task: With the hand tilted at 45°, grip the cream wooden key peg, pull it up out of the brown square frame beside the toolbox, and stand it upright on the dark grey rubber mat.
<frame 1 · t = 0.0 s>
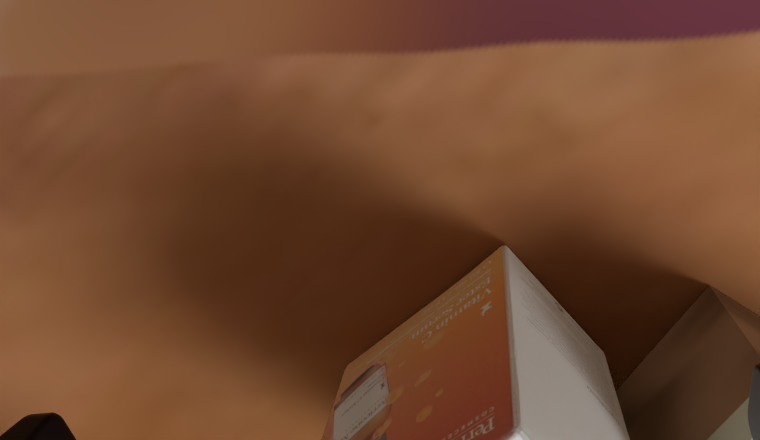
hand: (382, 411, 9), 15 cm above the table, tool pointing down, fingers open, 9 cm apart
small box: (469, 356, 27), on the table
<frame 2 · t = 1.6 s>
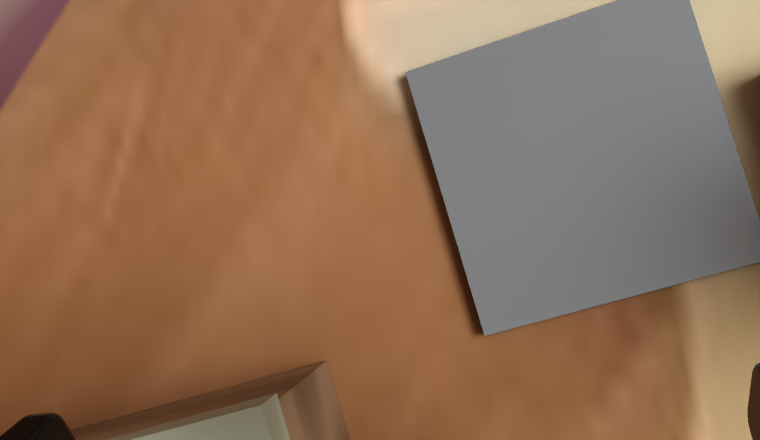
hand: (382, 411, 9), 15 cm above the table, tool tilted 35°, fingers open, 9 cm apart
mat: (579, 162, 23), on the table
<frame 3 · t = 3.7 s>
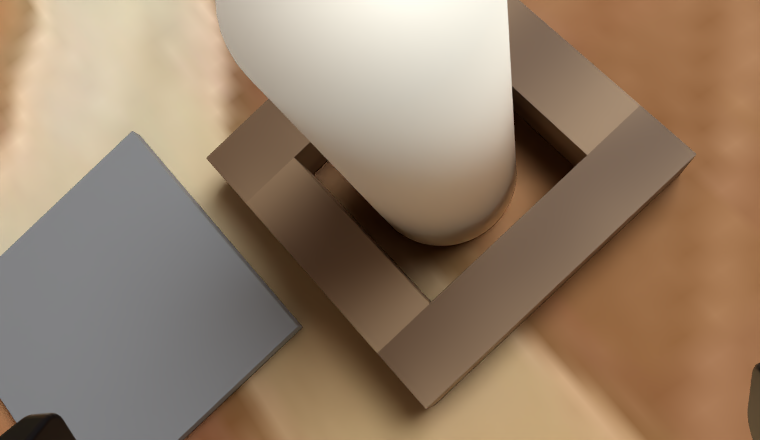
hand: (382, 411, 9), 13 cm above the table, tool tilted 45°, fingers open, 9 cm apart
key peg: (413, 107, 17), in the brown square frame
brown square frame: (442, 173, 23), on the table
mat: (118, 319, 24), on the table
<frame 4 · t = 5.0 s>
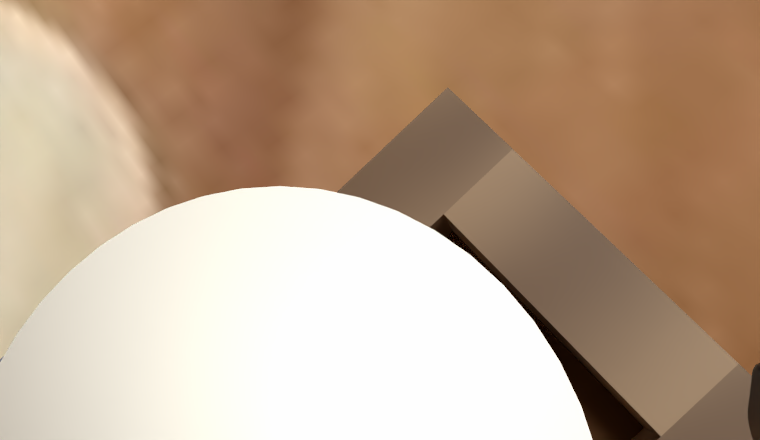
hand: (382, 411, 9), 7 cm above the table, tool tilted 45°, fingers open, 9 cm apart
key peg: (402, 438, 11), in the brown square frame
brown square frame: (447, 414, 16), on the table
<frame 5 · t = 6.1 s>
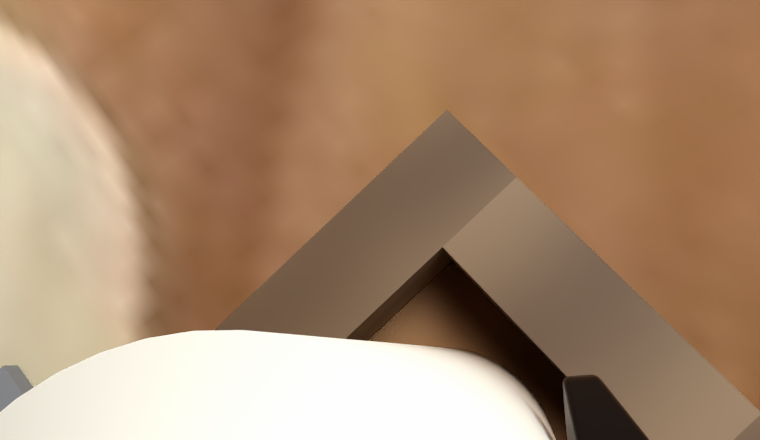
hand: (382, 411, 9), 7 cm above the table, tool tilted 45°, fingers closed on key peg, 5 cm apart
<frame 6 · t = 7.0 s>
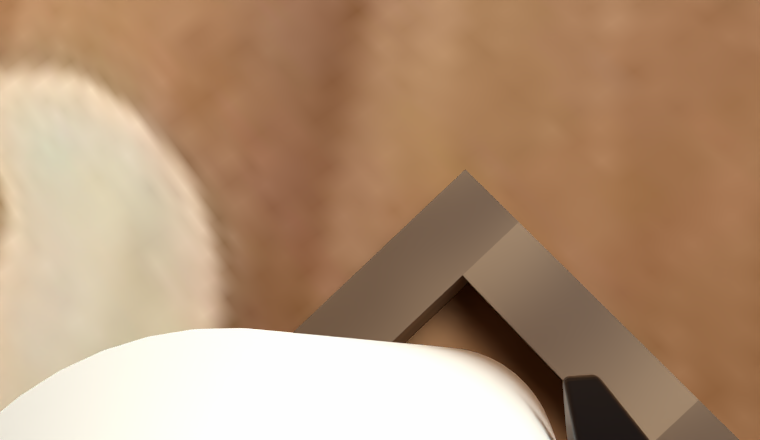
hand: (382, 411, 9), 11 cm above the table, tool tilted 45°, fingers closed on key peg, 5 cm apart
brown square frame: (464, 436, 20), on the table
when the fingers open (8 cm above the table, at t = 10.1 s): key peg stays where it is, resting on mat.
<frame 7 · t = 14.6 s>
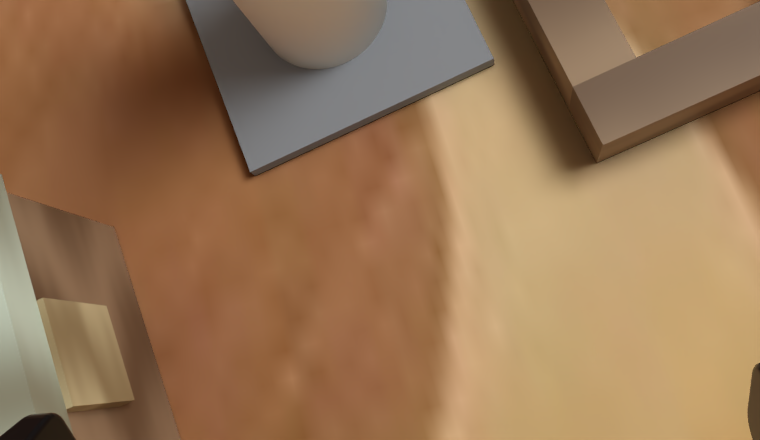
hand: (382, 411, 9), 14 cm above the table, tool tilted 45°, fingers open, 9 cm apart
mat: (325, 12, 26), on the table
toolbox: (4, 425, 25), on the table
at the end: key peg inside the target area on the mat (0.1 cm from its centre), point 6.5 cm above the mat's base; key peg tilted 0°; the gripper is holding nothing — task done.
